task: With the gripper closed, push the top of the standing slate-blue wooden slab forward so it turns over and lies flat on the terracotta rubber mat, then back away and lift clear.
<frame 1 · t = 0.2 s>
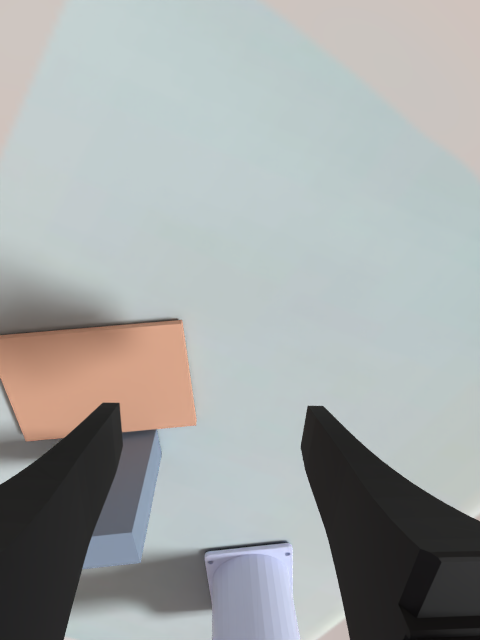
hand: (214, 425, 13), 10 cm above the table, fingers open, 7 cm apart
slab: (118, 445, 26), on the table
mat: (101, 381, 23), on the table
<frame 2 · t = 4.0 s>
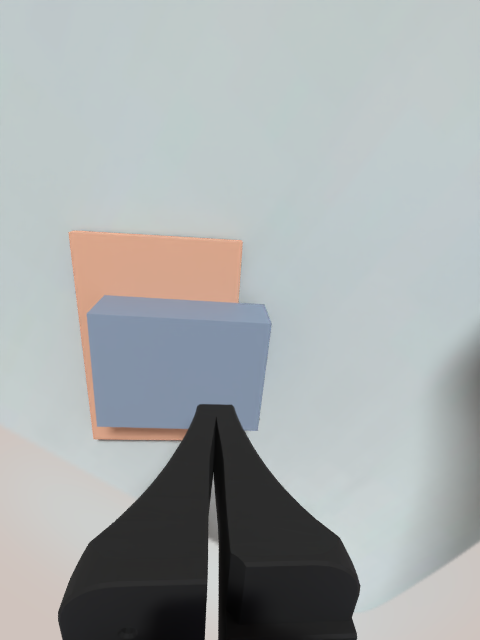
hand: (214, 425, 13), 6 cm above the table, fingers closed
slab: (260, 367, 18), point 2 cm above the table, tilted 90°, touching mat
mat: (161, 346, 19), on the table
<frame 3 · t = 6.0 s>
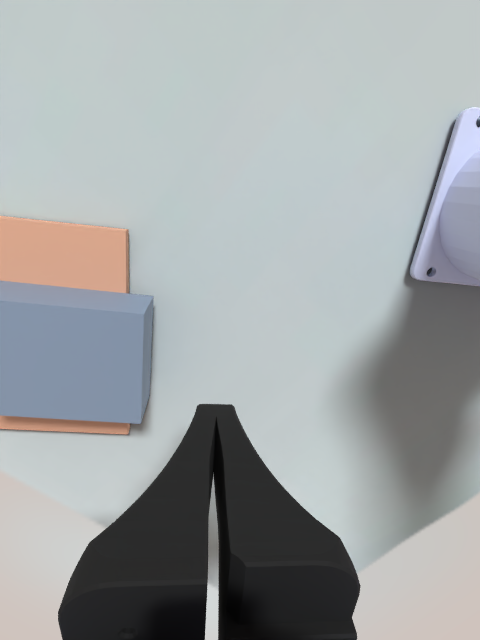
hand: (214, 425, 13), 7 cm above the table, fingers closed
slab: (147, 359, 17), point 2 cm above the table, tilted 90°, touching mat
mat: (53, 334, 18), on the table
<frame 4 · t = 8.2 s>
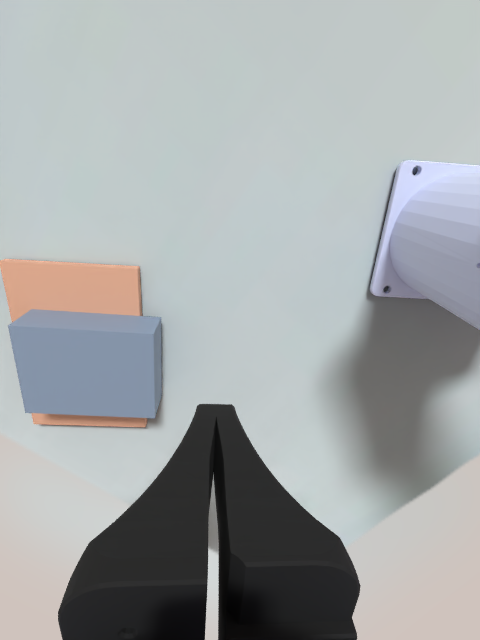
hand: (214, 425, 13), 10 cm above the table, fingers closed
slab: (158, 367, 22), point 2 cm above the table, tilted 90°, touching mat
mat: (84, 349, 23), on the table
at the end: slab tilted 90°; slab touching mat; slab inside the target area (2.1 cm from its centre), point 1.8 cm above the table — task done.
